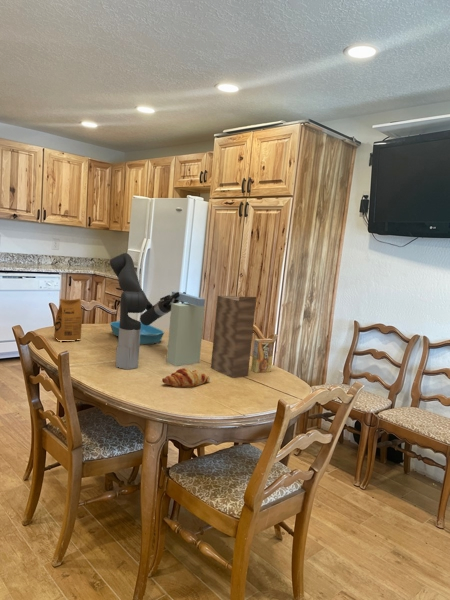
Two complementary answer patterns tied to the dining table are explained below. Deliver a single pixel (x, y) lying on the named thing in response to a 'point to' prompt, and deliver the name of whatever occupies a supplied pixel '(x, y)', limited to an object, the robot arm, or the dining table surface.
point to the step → (185, 334)
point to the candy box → (262, 355)
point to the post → (233, 335)
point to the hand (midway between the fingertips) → (181, 293)
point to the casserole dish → (142, 333)
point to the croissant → (186, 378)
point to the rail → (190, 299)
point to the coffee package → (68, 320)
